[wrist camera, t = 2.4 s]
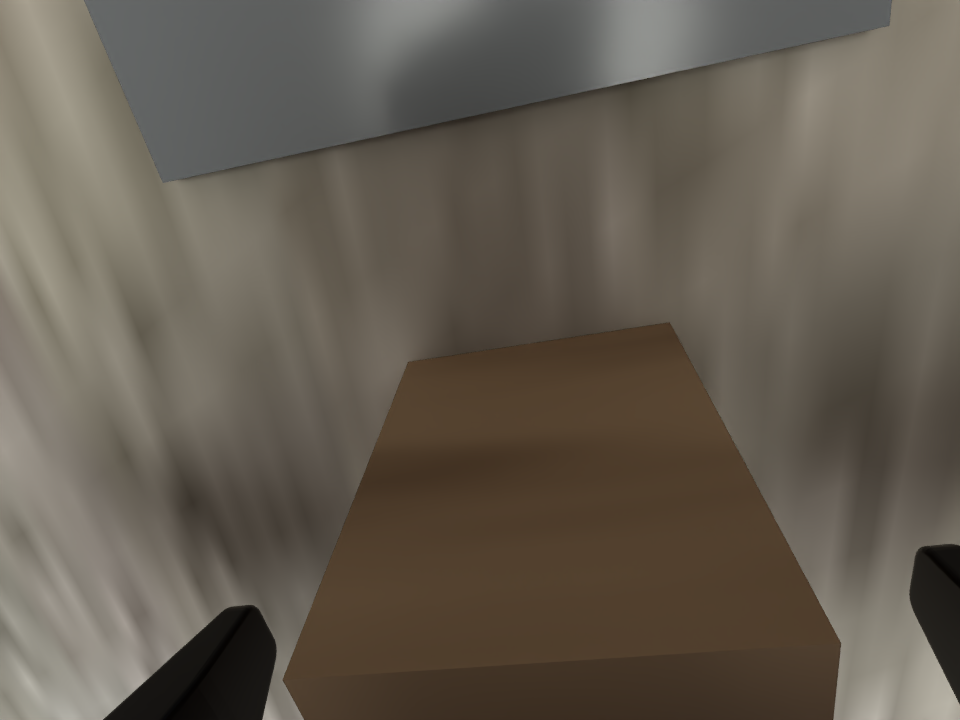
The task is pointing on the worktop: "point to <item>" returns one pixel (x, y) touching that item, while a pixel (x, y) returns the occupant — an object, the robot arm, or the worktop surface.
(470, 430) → the walnut block
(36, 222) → the worktop surface
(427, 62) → the slate coaster
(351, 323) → the worktop surface
